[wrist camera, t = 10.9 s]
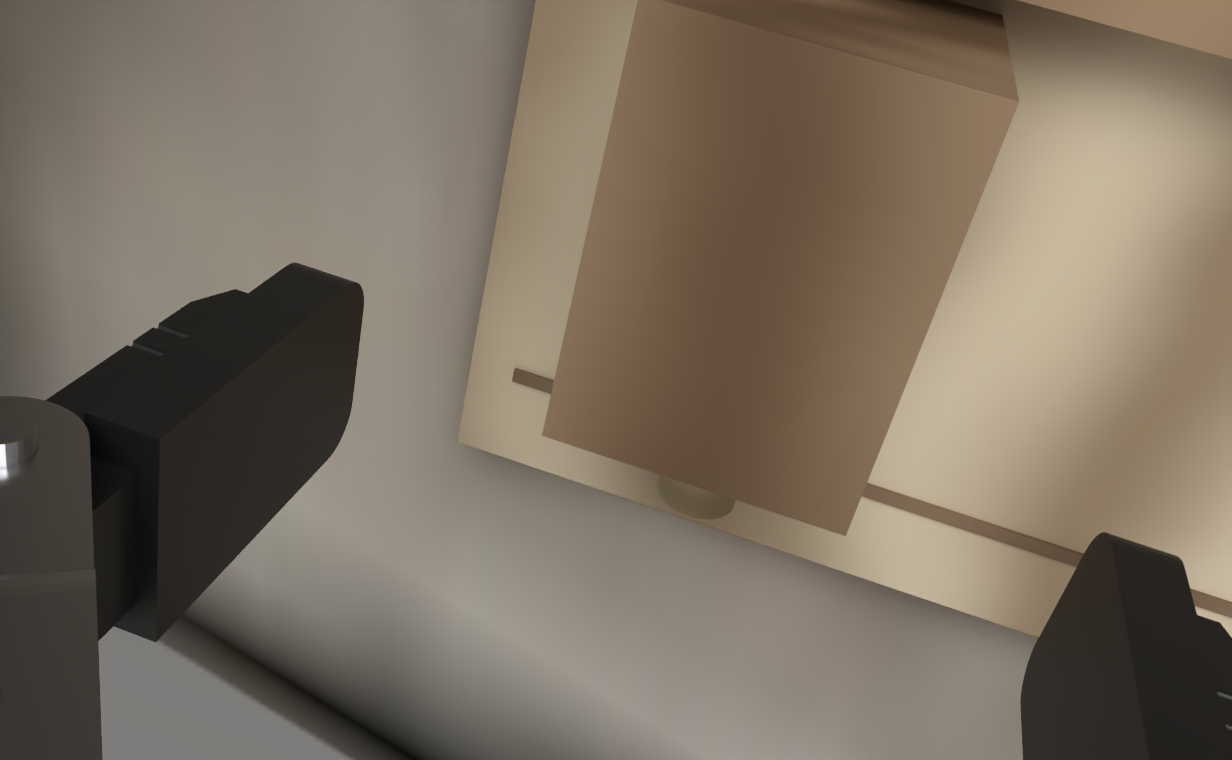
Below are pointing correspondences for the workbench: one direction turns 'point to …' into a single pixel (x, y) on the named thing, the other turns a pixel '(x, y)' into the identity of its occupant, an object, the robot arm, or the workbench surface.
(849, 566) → the maple board
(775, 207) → the brown boxy piece
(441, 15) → the workbench surface
